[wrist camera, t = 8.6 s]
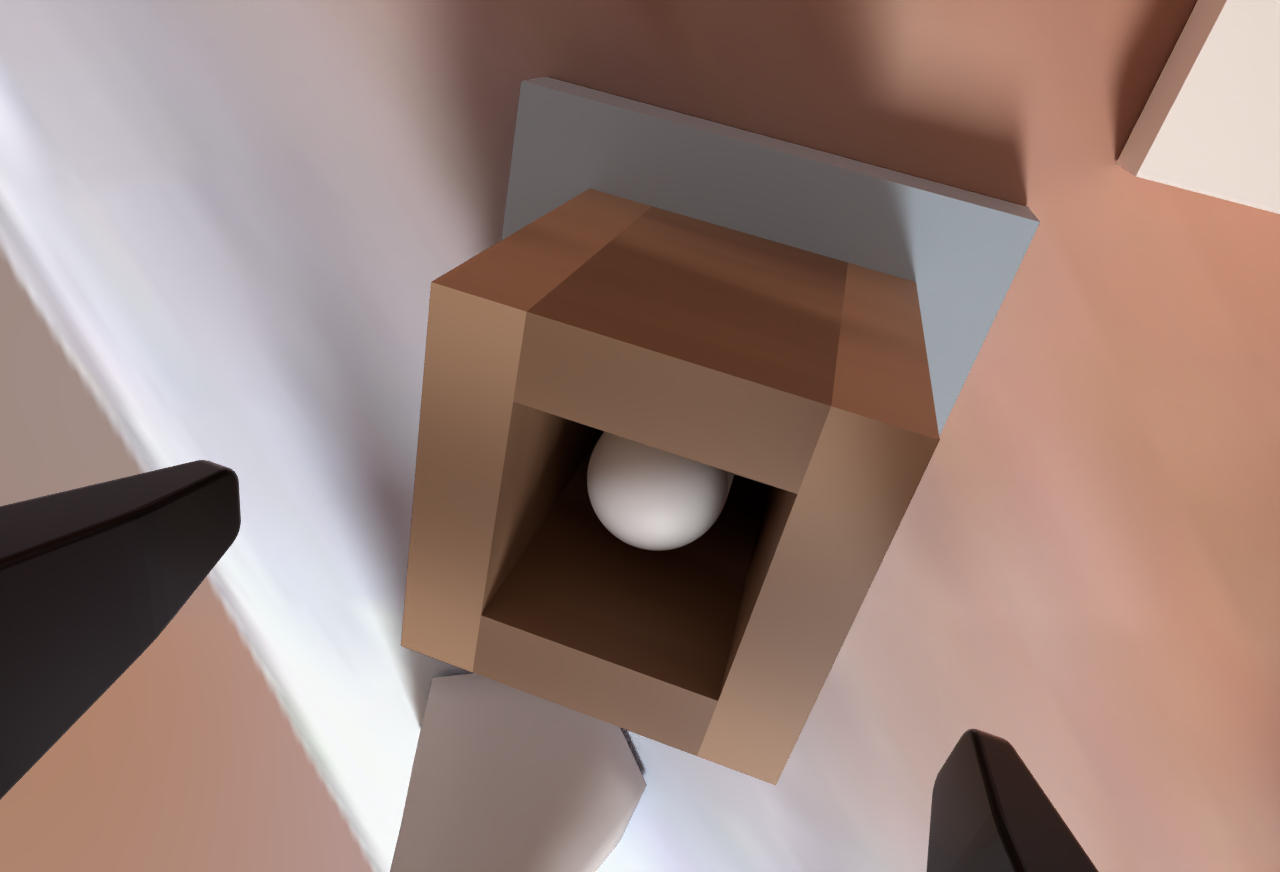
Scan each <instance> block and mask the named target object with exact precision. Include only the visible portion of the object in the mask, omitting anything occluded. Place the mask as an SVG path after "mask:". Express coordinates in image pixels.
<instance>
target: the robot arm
mask: <svg viewBox="0 0 1280 872" xmlns="http://www.w3.org/2000/svg"><path fill="white" fill-rule="evenodd" d="M240 524H241V516H240V498H239V481H238V477H237V475H236V473H235V471H233V470H232V469H230V468H227V467H225V466H222V465H219V464H216V463H213V462H210V461H206V460H199V461H194V462H189V463H185V464H181V465H177V466H172V467H168V468H164V469H159V470H155V471H151V472H146V473H142V474H138V475H134V476H129V477H125V478H121V479H116V480H112V481H108V482H104V483H99V484H95V485H90V486H86V487H82V488H78V489H73V490H69V491H65V492H60V493H56V494H52V495H47V496H43V497H39V498H35V499H30V500H26V501H22V502H17V503H13V504H9V505H4V506H1V507H0V799H1V798H2V797H3V796H4V795H5V794H6V793H7V792H8V791H9V790H10V789H11V788H12V787H13V786H14V785H15V784H16V783H17V782H18V781H19V780H20V779H21V778H22V777H23V776H24V774H26V772H28V771H29V770H30V768H31V767H32V766H33V765H34V764H35V763H36V762H37V761H38V760H39V759H40V758H41V757H42V756H43V755H44V754H45V753H46V752H47V751H48V750H49V749H50V748H51V747H52V746H53V745H54V744H55V743H56V742H57V741H58V740H59V739H60V738H61V737H62V736H63V734H64V733H65V732H66V731H67V730H68V729H69V728H70V727H71V726H72V725H73V724H74V723H75V722H76V721H77V720H78V719H79V718H80V717H81V716H82V715H83V714H84V713H85V712H86V711H87V710H88V709H89V708H90V707H91V706H92V705H93V704H94V702H95V701H97V699H98V698H99V697H100V696H101V695H102V694H103V693H104V692H105V691H106V690H107V689H108V688H109V687H110V686H111V685H112V684H113V683H114V682H115V681H116V680H117V679H118V678H119V677H120V676H121V675H122V674H123V673H124V672H125V671H126V670H127V669H128V668H129V666H130V665H131V664H132V663H133V662H134V661H135V660H136V659H137V658H138V657H139V656H140V655H141V654H142V653H143V652H144V651H145V650H146V649H147V647H149V646H150V644H151V643H152V642H153V641H154V640H155V639H156V638H157V637H158V636H159V634H160V633H161V632H162V631H163V629H164V628H165V627H166V626H167V625H168V624H169V622H170V621H171V620H172V619H173V618H174V616H175V615H176V614H177V613H178V611H179V610H180V609H181V608H182V606H183V605H184V604H185V603H186V601H187V600H188V599H189V597H190V596H191V595H192V594H193V592H194V591H195V590H196V589H197V587H198V586H199V585H200V584H201V582H202V581H203V580H204V579H205V577H206V576H207V575H208V574H209V572H210V571H211V570H212V569H213V567H214V566H215V565H216V563H217V562H218V561H219V560H220V558H221V557H222V556H223V555H224V553H225V552H226V551H227V550H228V548H229V547H230V546H231V545H232V543H233V542H234V540H235V539H236V537H237V535H238V532H239V529H240ZM927 872H1098V870H1097V869H1096V867H1095V866H1094V864H1093V863H1092V862H1091V860H1090V859H1089V857H1088V856H1087V854H1086V853H1085V851H1084V850H1083V848H1082V847H1081V845H1080V844H1079V843H1078V841H1077V840H1076V838H1075V837H1074V835H1073V834H1072V832H1071V831H1070V829H1069V828H1068V826H1067V825H1066V824H1065V822H1064V821H1063V819H1062V818H1061V816H1060V815H1059V813H1058V812H1057V810H1056V809H1055V808H1054V806H1053V805H1052V803H1051V802H1050V800H1049V799H1048V797H1047V796H1046V794H1045V793H1044V791H1043V790H1042V789H1041V787H1040V786H1039V784H1038V783H1037V781H1036V780H1035V778H1034V777H1033V775H1032V774H1031V772H1030V771H1029V770H1028V768H1027V767H1026V765H1025V764H1024V762H1023V761H1022V759H1021V758H1020V756H1019V755H1018V753H1017V752H1016V751H1015V749H1014V748H1013V746H1012V745H1011V744H1010V743H1009V742H1008V741H1006V740H1005V739H1003V738H1000V737H997V736H994V735H992V734H989V733H986V732H983V731H980V730H977V729H969V730H967V731H966V732H965V733H964V734H963V735H962V737H961V738H960V740H959V741H958V743H957V744H956V746H955V748H954V749H953V751H952V752H951V754H950V756H949V757H948V759H947V760H946V762H945V764H944V765H943V767H942V768H941V770H940V771H939V773H938V775H937V778H936V780H935V784H934V788H933V794H932V806H931V820H930V833H929V846H928V860H927Z"/></svg>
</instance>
